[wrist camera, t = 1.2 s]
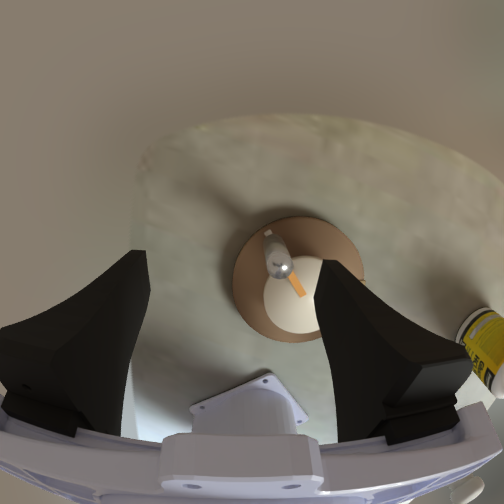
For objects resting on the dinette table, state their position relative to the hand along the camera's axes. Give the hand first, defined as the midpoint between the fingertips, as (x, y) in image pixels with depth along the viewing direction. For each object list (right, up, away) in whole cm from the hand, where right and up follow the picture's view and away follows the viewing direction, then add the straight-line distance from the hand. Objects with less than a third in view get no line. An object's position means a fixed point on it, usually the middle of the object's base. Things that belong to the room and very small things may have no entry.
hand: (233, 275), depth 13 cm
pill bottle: (+25, -8, +14) cm, 29 cm away
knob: (+4, -1, +9) cm, 10 cm away
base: (+4, -1, +11) cm, 12 cm away
